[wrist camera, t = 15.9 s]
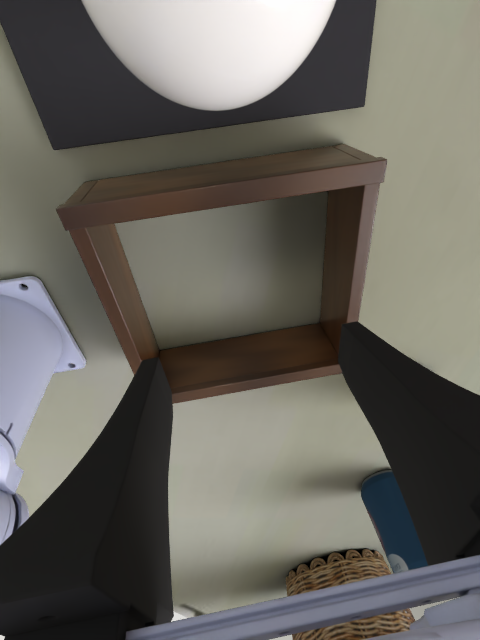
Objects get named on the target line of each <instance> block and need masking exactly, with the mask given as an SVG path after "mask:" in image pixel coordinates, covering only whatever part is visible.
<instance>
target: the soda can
mask: <svg viewBox="0 0 480 640" xmlns="http://www.w3.org/2000/svg"><path fill="white" fill-rule="evenodd" d="M361 497H362V500H363V502H364V504H365V507H366V509H367V511H368V514H369V516H370V518H371V521H372V523H373V525H374V528H375V530H376V533H377V535H378V537H379V540H380V542H381V544H382V547H383V549H384V551H385V554H386V556H387V558H388V561H389V563H390V566H391V568H392V570H393V573H399V572H403V571H408V570H412V569H417V568H422V567H426V566H428V564H427V561H426V558H425V555H424V552H423V549H422V546H421V543H420V541H419V538H418V535H417V532H416V530H415V527H414V524H413V521H412V519H411V516H410V514H409V511H408V508H407V506H406V503H405V501H404V498H403V496H402V493H401V491H400V488H399V486H398V483H397V481H396V479H395V476H394V474H393V472H392V470H384V471H380V472H377V473H375V474H373V475H371V476H369V477H368V478H366V479H365V480H364V481H363V483H362V490H361Z"/></svg>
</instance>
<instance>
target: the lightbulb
mask: <svg viewBox="0 0 480 640" xmlns="http://www.w3.org/2000/svg"><path fill="white" fill-rule="evenodd" d="M81 1H82V3H83V5H84V7H85V9H86V11H87V13H88V15H89V17H90V19H91V20H92V22H93V24H94V25H95V27H96V29H97V30H98V32H99V34H100V35H101V37H102V38H103V40H104V41H105V42H106V44H107V45H108V47H109V48H110V49H111V51H112V52H113V53H114V54H115V56H116V57H117V58H118V59H119V60H120V61H121V63H122V64H123V65H124V66H125V67H126V68H127V69H128V70H129V71H130V72H131V73H132V74H133V75H134V76H135V77H137V78H138V79H139V80H140V81H141V82H142V83H144V84H145V85H146V86H148V87H149V88H150V89H152V90H153V91H155V92H156V93H158V94H159V95H161V96H163V97H165V98H167V99H169V100H171V101H173V102H175V103H178V104H180V105H183V106H186V107H190V108H194V109H199V110H207V111H223V110H231V109H236V108H240V107H243V106H246V105H249V104H252V103H254V102H256V101H258V100H260V99H262V98H264V97H265V96H267V95H269V94H270V93H272V92H273V91H274V90H276V89H277V88H278V87H280V86H281V85H282V84H283V83H284V82H285V81H286V80H287V79H288V78H290V77H291V76H292V74H293V73H294V72H295V71H296V70H297V69H298V68H299V67H300V65H301V64H302V63H303V62H304V60H305V59H306V58H307V56H308V55H309V53H310V52H311V51H312V49H313V48H314V46H315V44H316V43H317V41H318V39H319V38H320V36H321V34H322V32H323V30H324V28H325V26H326V24H327V22H328V20H329V18H330V15H331V13H332V11H333V8H334V6H335V3H336V0H81Z"/></svg>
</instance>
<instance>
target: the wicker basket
mask: <svg viewBox="0 0 480 640" xmlns="http://www.w3.org/2000/svg"><path fill="white" fill-rule="evenodd" d="M350 553H351V554H350ZM349 554H350V555H349ZM333 556H334V557H333ZM367 556H369V557H367ZM339 557H340V558H339ZM352 557H355V558H352ZM330 560H331V563H330ZM334 560H338V561H336V562H334ZM316 561H317V562H316ZM320 561H321V562H320ZM327 563H328V564H326V562H325V561H324V560H323V559H322V558H319V557H318V558H314V559H313V560H312V562H311V565H310V569H309V567H308V566H307V565H306V564H300V565H299V567H298V569H297V574H296V572H295V571H293V570H291V571H290V572H289V576H286V588H287V597H288V596H293V595H297V594H302V593H306V592H311V591H316V590H320V589H325V588H329V587H334V586H339V585H343V584H348V583H352V582H357V581H362V580H366V579H371V578H375V577H380V576H385V575H389V574H391V572H390V570H389V568H388V566H387V564H386V562H385V561H384V559H383V557H382V555H381V554H380V553H379V552H378V551H374V554H373V553H372V552H371V551H370V550H368V549H364V550H363V551H362V556H361V555H360V554H359V553H358V552H357V551H356V550H348V551H347V553H346V559H344V557H343V556H342V555H341V554H339V553H331V554H330V555H329V557H328V560H327ZM323 564H324V565H323ZM317 565H321V566H319V567H316V566H317ZM304 567H305V568H304ZM303 571H305V572H304V573H302V572H303ZM413 622H415V619H414V617H413V615H412V613H411V611H410V609H409V608H408V609H404V610H399V611H395V612H390V613H386V614H381V615H377V616H372V617H368V618H363V619H359V620H354V621H350V622H345V623H341V624H336V625H332V626H327V627H323V628H318V629H314V630H309V631H305V632H300V633H296V634H292V637H293V640H363V639H368V638H372V637H377V636H382V635H387V634H393V633H398V632H404V631H409V630H410V628H409V627H410V624H412V623H413Z"/></svg>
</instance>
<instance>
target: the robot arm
mask: <svg viewBox="0 0 480 640" xmlns="http://www.w3.org/2000/svg"><path fill="white" fill-rule="evenodd" d="M21 284H25V285H27V286H28V288H27V287H24V286H22V285H21ZM70 363H73V364H70ZM338 363H339V365H340V368H341V371H342V373H343V376H344V378H345V380H346V383H347V385H348V386H349V388H350V390H351V392H352V394H353V395H354V397H355V399H356V401H357V402H358V404H359V406H360V408H361V409H362V411H363V413H364V415H365V416H366V418H367V420H368V422H369V423H370V425H371V427H372V429H373V430H374V432H375V434H376V436H377V438H378V440H379V442H380V444H381V446H382V449H383V451H384V453H385V455H386V458H387V460H388V462H389V464H390V467H391V469H392V472H393V474H394V476H395V479H396V481H397V483H398V486H399V488H400V491H401V493H402V496H403V498H404V501H405V503H406V506H407V508H408V511H409V514H410V516H411V519H412V521H413V524H414V527H415V530H416V532H417V535H418V538H419V541H420V543H421V546H422V549H423V552H424V555H425V558H426V561H427V564H428V566H426V567H422V568H417V569H412V570H408V571H403V572H399V573H394V574H389V575H385V576H380V577H375V578H371V579H366V580H362V581H357V582H352V583H348V584H343V585H339V586H334V587H329V588H325V589H320V590H316V591H311V592H306V593H302V594H297V595H293V596H288V597H283V598H279V599H274V600H270V601H265V602H260V603H256V604H251V605H247V606H242V607H237V608H233V609H228V610H224V611H219V612H214V613H210V614H205V615H201V616H196V617H191V618H187V619H182V620H178V621H173V622H171V620H172V618H173V616H174V614H173V601H172V585H171V568H170V546H169V517H168V471H169V459H170V446H171V434H172V421H173V406H172V391H171V388H170V386H169V383H168V380H167V378H166V375H165V372H164V370H163V367H162V365H161V362H160V359H159V357H157V358H151V359H146V360H143V361H142V362H141V363H140V365H139V367H138V369H137V371H136V373H135V375H134V377H133V379H132V381H131V383H130V385H129V387H128V389H127V391H126V393H125V394H124V396H123V398H122V400H121V401H120V403H119V405H118V407H117V408H116V410H115V412H114V413H113V415H112V416H111V418H110V420H109V421H108V423H107V424H106V426H105V428H104V429H103V431H102V432H101V434H100V435H99V436H98V438H97V439H96V441H95V442H94V444H93V445H92V446H91V448H90V449H89V450H88V452H87V453H86V454H85V456H84V457H83V458H82V459H81V461H80V462H79V463H78V464H77V466H76V467H75V468H74V469H73V470H72V472H71V473H70V474H69V475H68V477H67V478H66V479H65V480H64V481H63V482H62V483H61V485H60V486H59V487H58V488H57V489H56V490H55V491H54V492H53V493H52V494H51V495H50V497H49V498H48V499H47V500H46V501H45V502H44V503H43V504H42V505H41V506H40V507H39V508H38V509H37V510H36V511H35V512H34V513H33V514H32V515H31V516H30V517H29V511H28V506H27V504H26V501H25V500H24V499H23V498H22V496H21V495H19V494H17V493H16V490H17V487H18V485H19V482H20V480H21V477H22V475H23V472H24V471H23V470H22V469H21V468H19V467H18V466H17V465H16V463H15V459H16V456H17V454H18V452H19V450H20V447H21V445H22V443H23V440H24V438H25V436H26V434H27V431H28V429H29V427H30V424H31V422H32V420H33V418H34V415H35V413H36V411H37V408H38V406H39V404H40V402H41V399H42V397H43V395H44V393H45V390H46V388H47V386H48V383H49V381H50V379H51V377H52V374H53V373H58V372H64V371H69V370H75V369H81V368H84V367H85V365H86V359H85V357H84V356H83V354H82V352H81V350H80V349H79V347H78V345H77V343H76V342H75V340H74V338H73V336H72V335H71V333H70V331H69V329H68V327H67V326H66V324H65V322H64V320H63V319H62V317H61V315H60V313H59V312H58V310H57V308H56V306H55V304H54V303H53V301H52V299H51V297H50V296H49V294H48V292H47V290H46V289H45V287H44V285H43V283H42V282H41V280H40V279H38V278H37V277H34V276H28V277H21V278H15V279H9V280H2V281H0V635H3V636H5V639H4V640H269V639H273V638H278V637H282V636H287V635H291V634H296V633H300V632H305V631H309V630H314V629H318V628H323V627H327V626H332V625H336V624H341V623H345V622H350V621H354V620H359V619H363V618H368V617H372V616H377V615H381V614H386V613H390V612H395V611H399V610H404V609H408V608H412V607H417V606H421V605H426V604H431V603H435V602H440V601H444V600H449V599H453V598H456V599H453V600H450V601H447V602H444V603H442V604H439V605H436V606H433V607H430V608H427V609H425V611H424V615H423V616H422V617H421V618H420V619H419V620H417V621H415V622H413V623H412V624H410V627H409V628H410V630H409V631H404V632H398V633H393V634H387V635H382V636H377V637H372V638H368V639H363V640H480V395H477V394H475V393H473V392H471V391H468V390H466V389H464V388H462V387H460V386H458V385H456V384H454V383H452V382H450V381H448V380H447V379H445V378H443V377H441V376H439V375H437V374H435V373H434V372H432V371H430V370H428V369H427V368H425V367H423V366H422V365H420V364H418V363H417V362H415V361H413V360H412V359H410V358H409V357H407V356H406V355H404V354H403V353H401V352H400V351H398V350H397V349H395V348H394V347H392V346H391V345H389V344H388V343H387V342H385V341H384V340H382V339H381V338H379V337H378V336H377V335H375V334H374V333H373V332H371V331H370V330H368V329H367V328H366V327H364V326H363V325H361V324H360V323H359V322H357V321H356V322H350V323H345V324H342V326H341V335H340V344H339V354H338ZM457 597H459V598H457Z"/></svg>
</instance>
